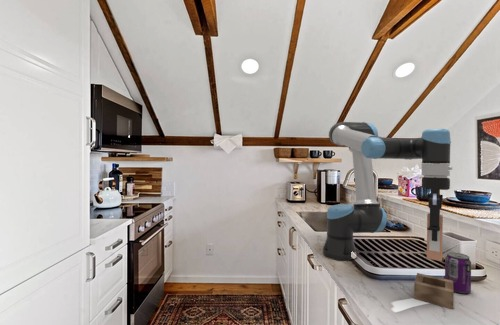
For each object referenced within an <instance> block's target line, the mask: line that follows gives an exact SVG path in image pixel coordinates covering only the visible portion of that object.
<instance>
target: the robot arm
mask: <svg viewBox="0 0 500 325" xmlns="http://www.w3.org/2000/svg"><path fill="white" fill-rule="evenodd" d="M328 137H329V138H328V139H329V140H330V142H331V143H333V144H335V145H336V146H345V147H348V151H349V152H351V154H352V163H353V164H352V167H353V176H354V188H355V189H354V190H355V199H356V200H355V202H354V203H353V204H348V203H347V204H346V203H345V204H343V203H340V204H334V205H331V206H328V208H327V212H326V213H327V214H326V240H325V242H324V245H323V247H322V255H323V256H324V257H326V258H328V259H332V260H336V261H342V262H344V261H345V262H348V261H350V262H351V261H352V260H351V252H352V251H353V252H356V251H357V249H356V245H355V242H354V234H360V233H363V234H364V233H365V234H366V233H367V234H374V233H380V232H382V231H383V230H385V228H386V226H387V222H388V216H387V212H385V211H386V210H385V209H384V208H382V207H381V206H380V205H381V204H380V202H379V201H378V200H377V199H376V190H375V189H376V188H375V179H374V170H373V160H377V159H380V160H381V159H385V160H386V159H394V160H395V159H396V160H397V159H398V160H411V161H412V160H420V159H421V176H423V177H422V178H421V188H422V189H425V190H430V193H428V194H427V200H428V205H427V207H428V208H429V213H430V226H429V228H427V227H426V231H427V230H429V250H431V251H437V252H440V231H439V230H440V227H439V216H440V215H441V210H442V206H443V200H444V197H443V196H444V195H443V194H441V191H448V190H450V189H451V179H450V178H449V177H450V176H451V174H450V172H451V170H453V167H452V166H451V143H452V140H451V132H450V130H449V129H447V128H429V129H425V130H423V131H422V134H421V137H411V138H409V137H382V136H379V132H378V129H377V126H375V125H374V124H373V123H370V122H365V121H363V122H357V121H355V122H354V121H353V122H352V121H349V122H348V121H340V122H337V123H335V124H334V125H332V126H331V127H330V129H329V131H328ZM372 159H373V160H372Z"/></svg>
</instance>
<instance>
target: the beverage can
mask: <svg viewBox="0 0 500 325" xmlns="http://www.w3.org/2000/svg"><path fill="white" fill-rule="evenodd" d="M456 252H457V251H456ZM456 252H448V253H447V256H446V257H445V262H444V279H447V280H452V281H453V290H454V292H455V293H459V294H467V293H468V294H469V293H471V292H472V262H471V259H470V256H469V255H468V254H465V253H460V252H457V253H456Z"/></svg>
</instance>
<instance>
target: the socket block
mask: <svg viewBox="0 0 500 325" xmlns="http://www.w3.org/2000/svg"><path fill="white" fill-rule="evenodd" d="M413 285H414V286H413V293H414V294H413V299H414V300H418V301H421V302H424V303H429V304H432V305H436V306H440V307H444V308H446V309H451V310H454V296H455V294H454V292H455V291H454V290H453V281H452V280H447V279H445V278H443V277H437V276H433V275H428V274H425V273H419V272H417V273H416V276H415V280H414V284H413Z"/></svg>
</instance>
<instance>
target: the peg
mask: <svg viewBox="0 0 500 325" xmlns="http://www.w3.org/2000/svg"><path fill="white" fill-rule="evenodd" d="M426 215H427V216H426V217H427V218H426V221H427V222H426V259H428V260H432V261H433V260H434V261H438V262H443V237H444V236H443V228H444V227H443V226H444V224H443V223H444V222H443V221H444V220H443V218H444V215H443V214H440V216H439V227H440V230H439V231H440V252H437V251H431V250H429V230H427V228H429V226H430V212H429V213H427V214H426Z"/></svg>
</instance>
